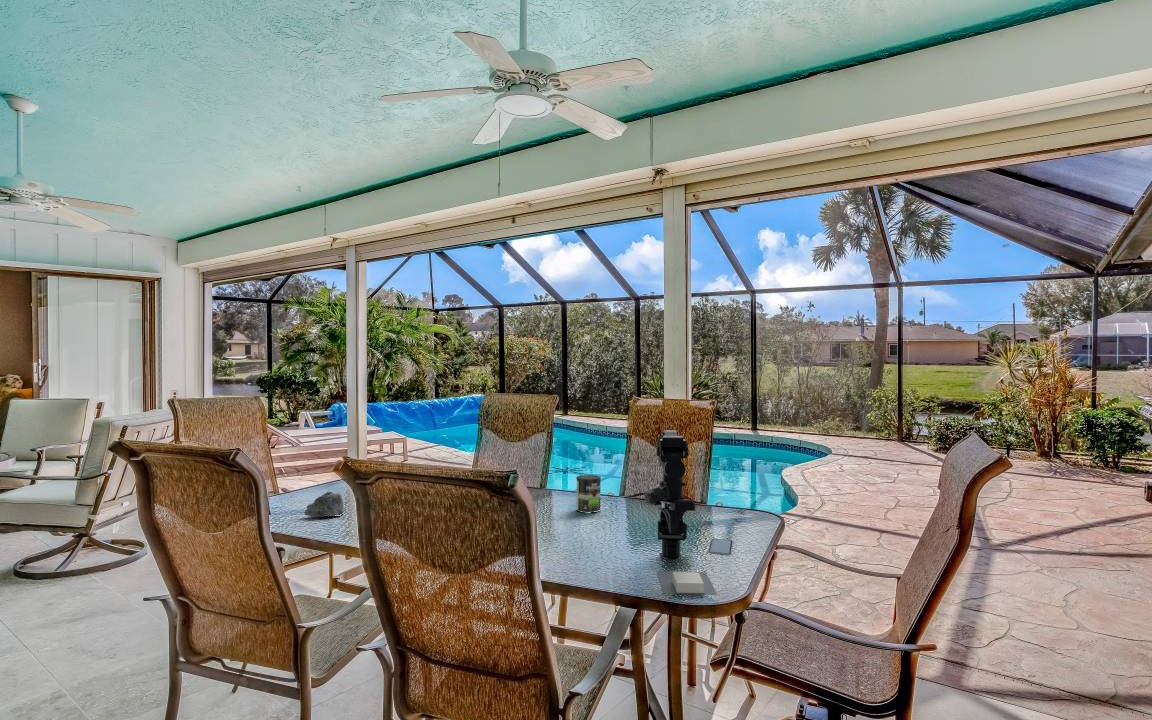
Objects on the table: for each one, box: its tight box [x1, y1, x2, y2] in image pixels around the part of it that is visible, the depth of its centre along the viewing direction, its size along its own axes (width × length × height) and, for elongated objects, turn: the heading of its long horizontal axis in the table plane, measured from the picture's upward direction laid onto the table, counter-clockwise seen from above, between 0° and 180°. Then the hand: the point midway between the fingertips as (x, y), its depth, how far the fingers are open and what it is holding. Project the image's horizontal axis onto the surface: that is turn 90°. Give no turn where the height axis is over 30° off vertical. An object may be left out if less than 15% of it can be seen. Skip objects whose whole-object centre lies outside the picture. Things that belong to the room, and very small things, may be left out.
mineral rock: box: [304, 491, 345, 518], centre depth 231 cm, size 13×11×10 cm
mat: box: [656, 570, 718, 596], centre depth 158 cm, size 16×14×1 cm
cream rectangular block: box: [672, 571, 704, 595], centre depth 153 cm, size 3×7×8 cm
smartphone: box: [707, 538, 734, 556], centre depth 192 cm, size 7×1×15 cm
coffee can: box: [575, 474, 602, 512], centre depth 242 cm, size 10×10×14 cm
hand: (672, 533), depth 166 cm, fingers closed
